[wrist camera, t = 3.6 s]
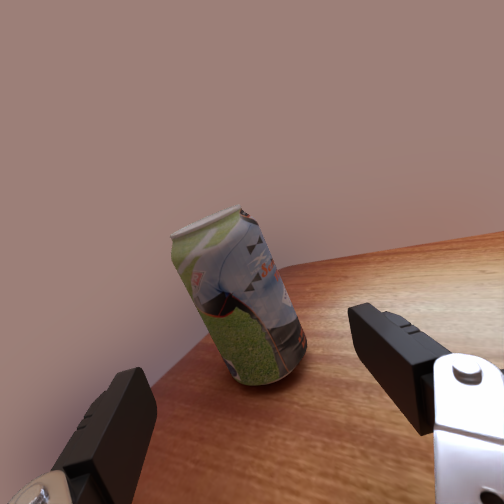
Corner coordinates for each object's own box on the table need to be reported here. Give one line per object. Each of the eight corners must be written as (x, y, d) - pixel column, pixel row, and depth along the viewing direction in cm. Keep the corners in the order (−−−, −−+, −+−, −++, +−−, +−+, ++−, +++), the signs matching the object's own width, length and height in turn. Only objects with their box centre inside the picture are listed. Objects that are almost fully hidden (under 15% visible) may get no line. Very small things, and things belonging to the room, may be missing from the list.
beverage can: (326, 376, 18) (286, 195, 15) (217, 418, 17) (153, 232, 14) (293, 331, 24) (260, 195, 21) (211, 360, 23) (165, 221, 20)
